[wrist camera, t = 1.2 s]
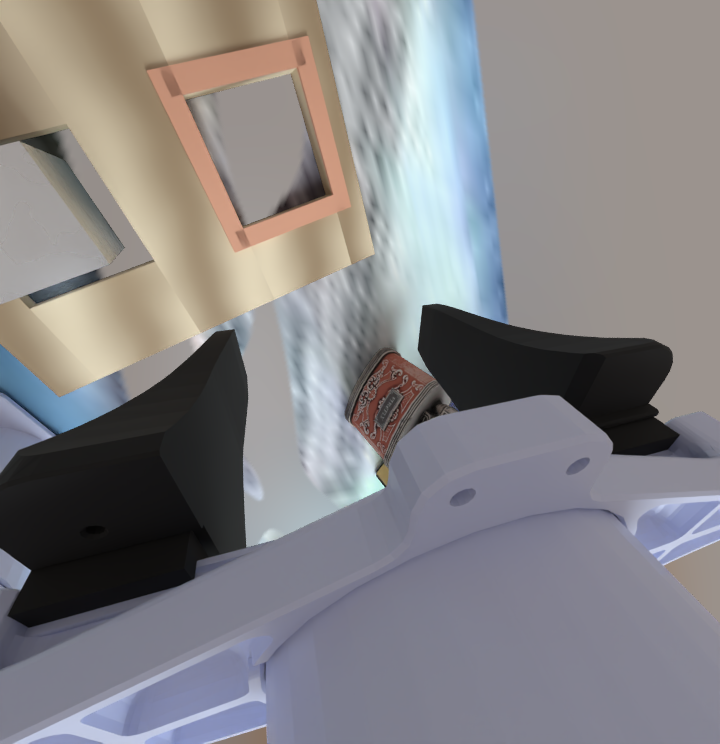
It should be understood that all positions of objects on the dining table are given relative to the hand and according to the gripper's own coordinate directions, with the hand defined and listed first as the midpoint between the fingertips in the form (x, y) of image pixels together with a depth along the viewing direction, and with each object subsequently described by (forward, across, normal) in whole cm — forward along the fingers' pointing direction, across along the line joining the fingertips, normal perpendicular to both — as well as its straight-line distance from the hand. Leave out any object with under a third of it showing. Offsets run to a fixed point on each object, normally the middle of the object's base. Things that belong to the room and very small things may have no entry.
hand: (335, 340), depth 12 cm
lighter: (+12, -5, +12) cm, 18 cm away
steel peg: (+9, +12, -3) cm, 15 cm away
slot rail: (+11, +7, -4) cm, 13 cm away
